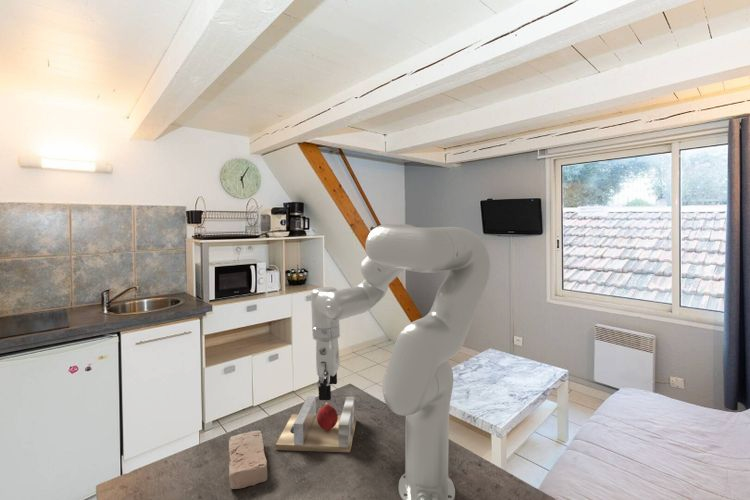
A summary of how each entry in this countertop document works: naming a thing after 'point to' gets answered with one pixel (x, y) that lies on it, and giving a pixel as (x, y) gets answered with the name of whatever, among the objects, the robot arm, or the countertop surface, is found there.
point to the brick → (247, 460)
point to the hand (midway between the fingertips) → (328, 391)
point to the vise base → (323, 433)
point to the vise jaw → (304, 420)
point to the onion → (327, 417)
